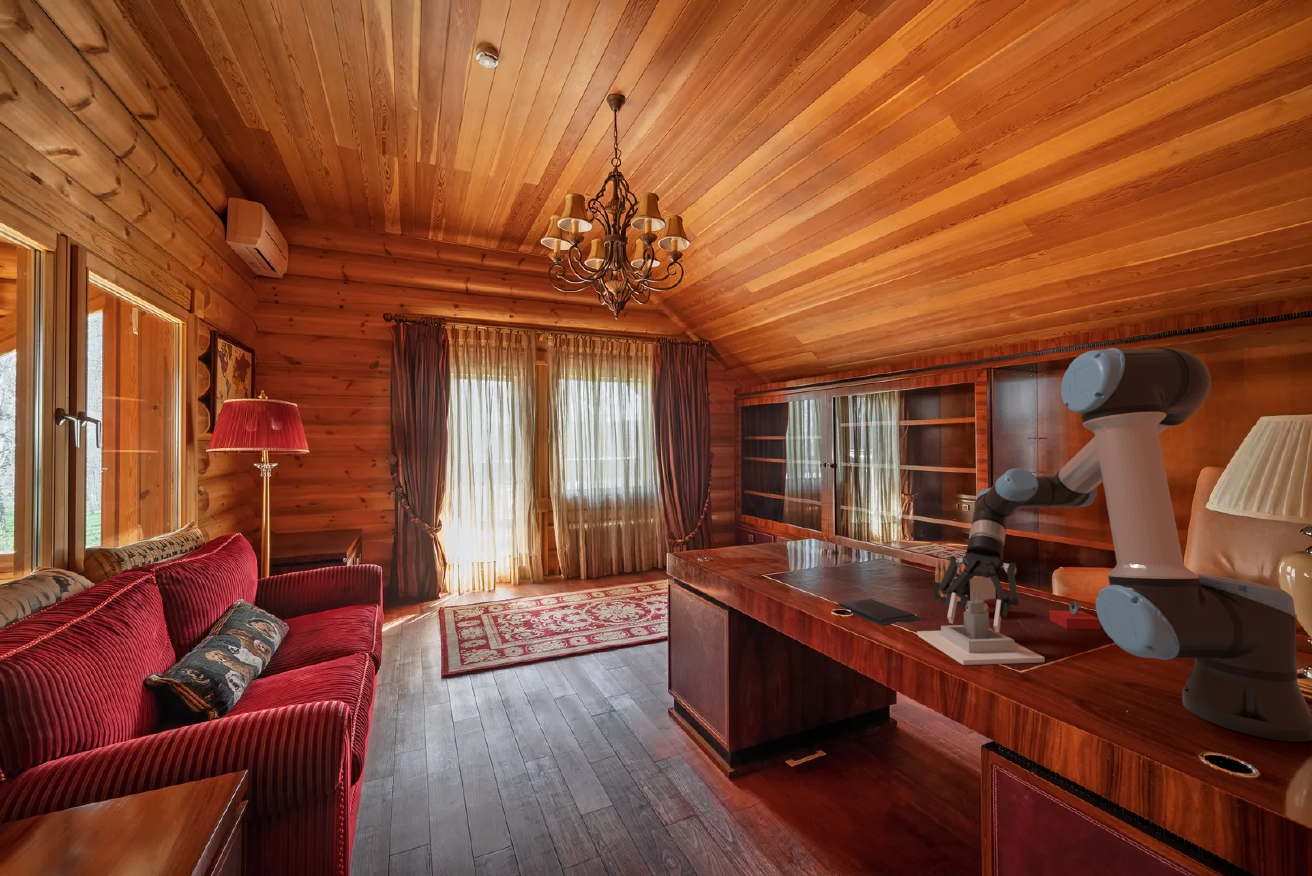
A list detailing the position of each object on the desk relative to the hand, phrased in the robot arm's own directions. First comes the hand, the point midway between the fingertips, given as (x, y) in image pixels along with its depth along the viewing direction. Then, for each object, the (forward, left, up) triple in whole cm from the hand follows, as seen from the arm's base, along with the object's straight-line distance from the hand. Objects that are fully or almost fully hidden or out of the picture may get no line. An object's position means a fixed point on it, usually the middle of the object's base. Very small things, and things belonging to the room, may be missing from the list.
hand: (972, 624), depth 121 cm
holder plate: (+2, -2, -6) cm, 7 cm away
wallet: (+30, +8, -7) cm, 32 cm away
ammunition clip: (+37, -18, -7) cm, 42 cm away
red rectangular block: (+16, -37, -7) cm, 41 cm away
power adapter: (+2, -2, -5) cm, 6 cm away
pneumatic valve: (+26, -18, -6) cm, 33 cm away
